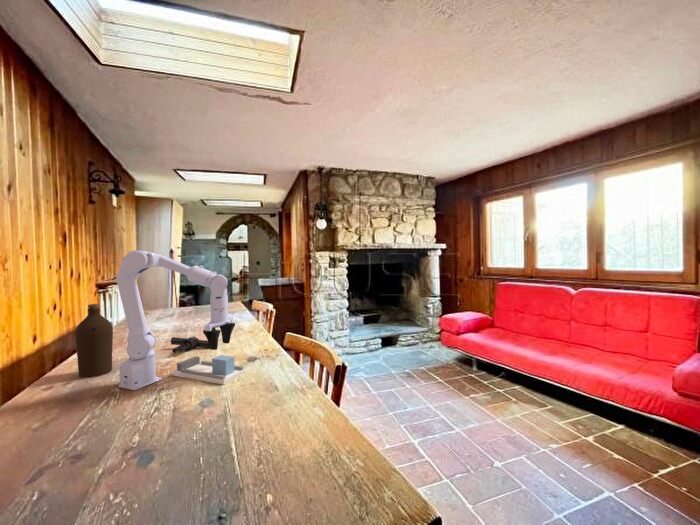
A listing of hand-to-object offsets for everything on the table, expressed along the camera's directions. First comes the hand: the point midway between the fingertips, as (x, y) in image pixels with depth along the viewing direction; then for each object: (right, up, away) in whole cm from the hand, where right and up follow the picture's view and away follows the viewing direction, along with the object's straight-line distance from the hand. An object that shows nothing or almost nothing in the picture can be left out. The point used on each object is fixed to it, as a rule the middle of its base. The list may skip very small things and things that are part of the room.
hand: (220, 346), depth 112 cm
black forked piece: (-25, -10, +26) cm, 37 cm away
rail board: (-3, -10, -1) cm, 10 cm away
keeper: (+3, -8, -4) cm, 9 cm away
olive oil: (-46, -10, +1) cm, 47 cm away
